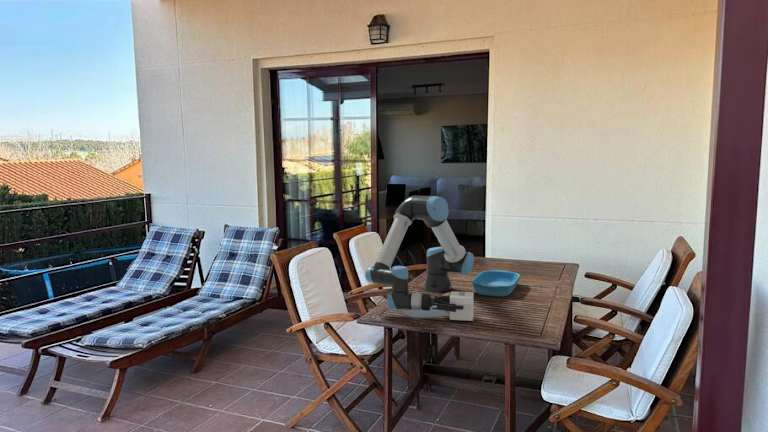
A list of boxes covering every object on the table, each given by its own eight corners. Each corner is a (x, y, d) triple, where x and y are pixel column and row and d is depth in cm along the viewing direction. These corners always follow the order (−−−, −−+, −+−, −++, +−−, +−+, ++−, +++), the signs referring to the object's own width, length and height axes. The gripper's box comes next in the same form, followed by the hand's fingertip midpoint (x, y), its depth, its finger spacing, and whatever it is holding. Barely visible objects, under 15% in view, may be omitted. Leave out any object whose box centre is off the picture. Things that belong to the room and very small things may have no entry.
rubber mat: (435, 307, 246) (435, 306, 246) (450, 315, 234) (450, 314, 234) (401, 312, 239) (401, 311, 239) (415, 321, 226) (415, 320, 226)
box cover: (451, 312, 232) (451, 288, 231) (473, 313, 231) (473, 289, 229) (449, 319, 223) (449, 294, 221) (472, 320, 221) (473, 295, 220)
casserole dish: (510, 300, 258) (511, 286, 257) (467, 296, 267) (467, 282, 266) (522, 283, 291) (522, 271, 290) (483, 280, 300) (483, 268, 300)
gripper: (424, 303, 241) (472, 305, 237) (418, 317, 219) (470, 320, 215) (424, 287, 240) (472, 289, 236) (418, 300, 218) (471, 302, 214)
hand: (471, 303), depth 225 cm, fingers closed on box cover, 10 cm apart
